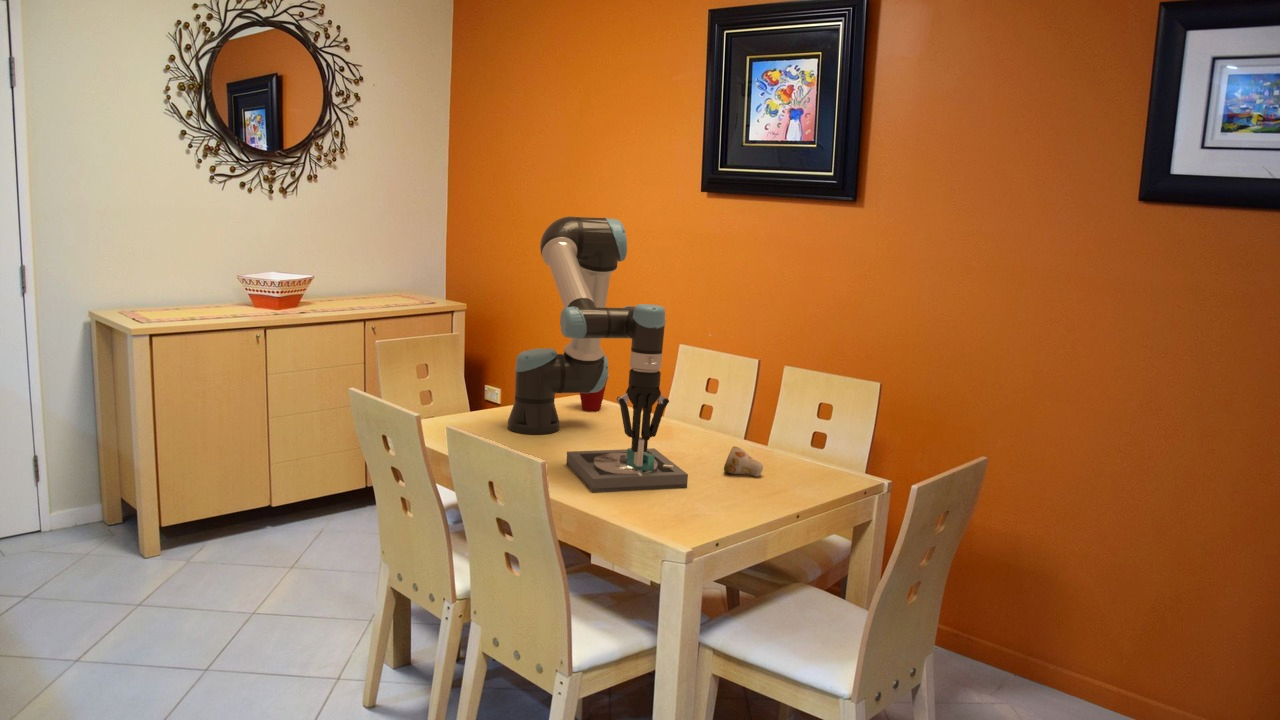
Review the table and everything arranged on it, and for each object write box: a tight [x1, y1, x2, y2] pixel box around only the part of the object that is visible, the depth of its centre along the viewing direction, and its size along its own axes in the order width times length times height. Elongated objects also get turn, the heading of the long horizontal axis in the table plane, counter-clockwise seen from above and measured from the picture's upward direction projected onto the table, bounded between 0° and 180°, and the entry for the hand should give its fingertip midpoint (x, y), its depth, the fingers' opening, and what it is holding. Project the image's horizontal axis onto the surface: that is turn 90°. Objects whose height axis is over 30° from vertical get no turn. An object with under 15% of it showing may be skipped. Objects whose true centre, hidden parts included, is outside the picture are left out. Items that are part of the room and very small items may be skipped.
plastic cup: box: [579, 374, 610, 412], centre depth 313 cm, size 11×11×12 cm
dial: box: [593, 447, 658, 475], centre depth 242 cm, size 18×16×6 cm
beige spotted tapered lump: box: [723, 445, 764, 478], centre depth 250 cm, size 8×10×10 cm
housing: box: [566, 448, 689, 494], centre depth 243 cm, size 24×24×4 cm
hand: (638, 464), depth 236 cm, fingers closed
